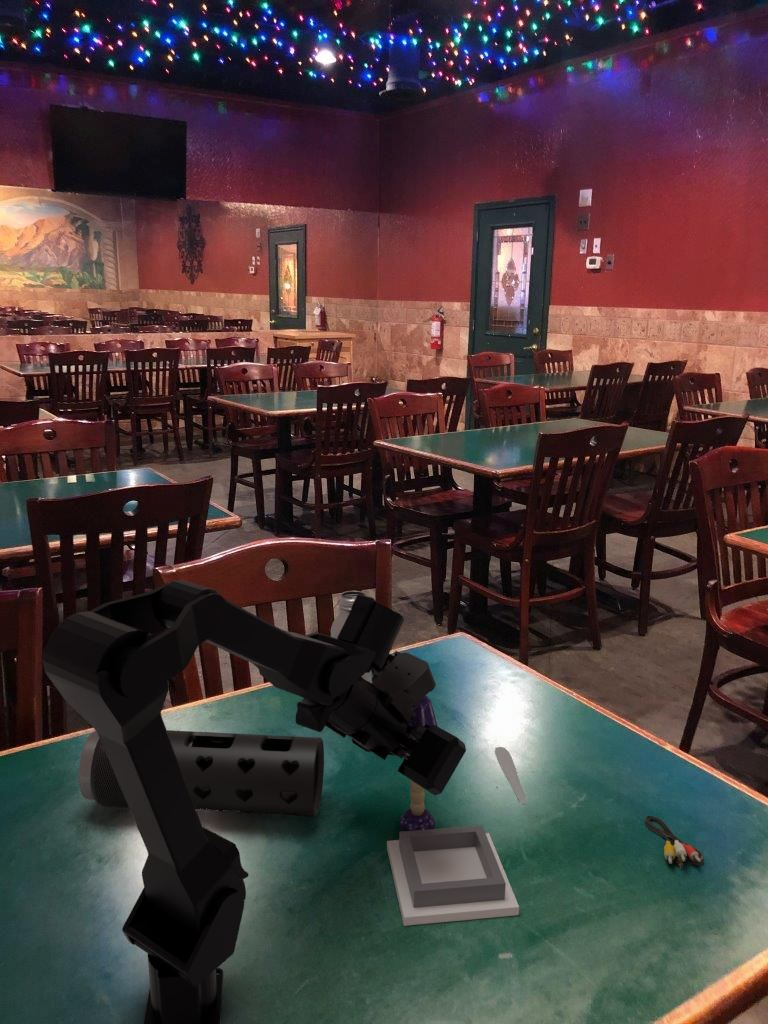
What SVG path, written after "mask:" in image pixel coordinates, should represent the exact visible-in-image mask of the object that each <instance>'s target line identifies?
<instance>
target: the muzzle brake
mask: <svg viewBox="0 0 768 1024" xmlns="http://www.w3.org/2000/svg"><path fill="white" fill-rule="evenodd" d="M166 730H167V733H168V735H169V738H170V741H171V743H172V746H173V749H174V752H175V754H176V757H177V760H178V762H179V765H180V768H181V771H182V773H183V776H184V779H185V781H186V784H187V787H188V789H189V792H190V795H191V798H192V800H193V803H194V806H195V808H196V810H202V811H204V810H205V811H206V810H210V811H218V812H219V813H223V812H224V811H225V812H239V813H240V814H253V815H255V814H256V815H270V816H271V815H273V816H274V815H275V816H288V817H289V816H291V817H293V816H294V817H309V818H310V817H311V818H313V817H315V816H316V815H318V812H319V810H320V805H321V802H322V801H321V800H322V795H323V794H322V793H323V787H324V785H323V784H324V769H325V749H324V748H325V747H324V742H323V741H324V740H323V739H322V737H317V736H316V737H311V736H297V735H296V736H293V735H272V734H253V733H251V734H250V733H236V732H234V733H233V732H230V733H229V732H213V731H211V732H209V731H193V730H192V731H189V730H172V729H171V730H170V729H166ZM78 786H79V787H78V788H79V792H80V794H81V796H82V797H83V798H84V799H85V800H90V801H94V802H95V803H97V804H98V805H99V806H101V807H104V808H118V809H119V808H120V809H122V808H125V809H129V806H128V804H127V802H126V799H125V797H124V795H123V792H122V790H121V787H120V785H119V783H118V780H117V778H116V776H115V773H114V771H113V769H112V766H111V764H110V762H109V759H108V757H107V754H106V752H105V750H104V747H103V745H102V743H101V740H100V738H99V736H98V733H97V732H96V730H93V731H92V732H91V733H90V734H89V735H88V737H86V741H85V743H84V745H83V748H82V751H81V755H80V758H79V766H78Z"/></svg>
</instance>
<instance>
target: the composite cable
mask: <svg viewBox="0 0 768 1024" xmlns="http://www.w3.org/2000/svg"><path fill="white" fill-rule="evenodd" d="M643 823H644V825H645V827H646V828H648V830H650V831H651V832H653V833H655V834H656V835H658V836H660V837H661V838H664V839H665V840H666V841H665V845H664V846H663V854H664V858H665V860H666V861H668V863H669V864H670V865H671V864H673V862H674V863H675V864H676V865H678V866H679V868H680V869H681V870H682V869H683V867H684V864H683V862H685V861H686V862H687V863H689V864H690V865H693V866H702V865H703V864H704V862H705V859H704V853H702V851H701V850H699V848H697V847H694V846H692V845H691V844H689V843H686V842H685V841H683V840H682V839H680V838H678V836H676V835H675V834H674V832H673V831H672V829H670V827H669V826H668V825H667V824H666V822H665V821H663V820H662V819H660V817H657V816H654V815H646V816H645V820H644V822H643ZM654 823H656V824H658V825H659V826H660V827H661V828H660V827H658V826H656V825H655V824H654Z"/></svg>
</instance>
